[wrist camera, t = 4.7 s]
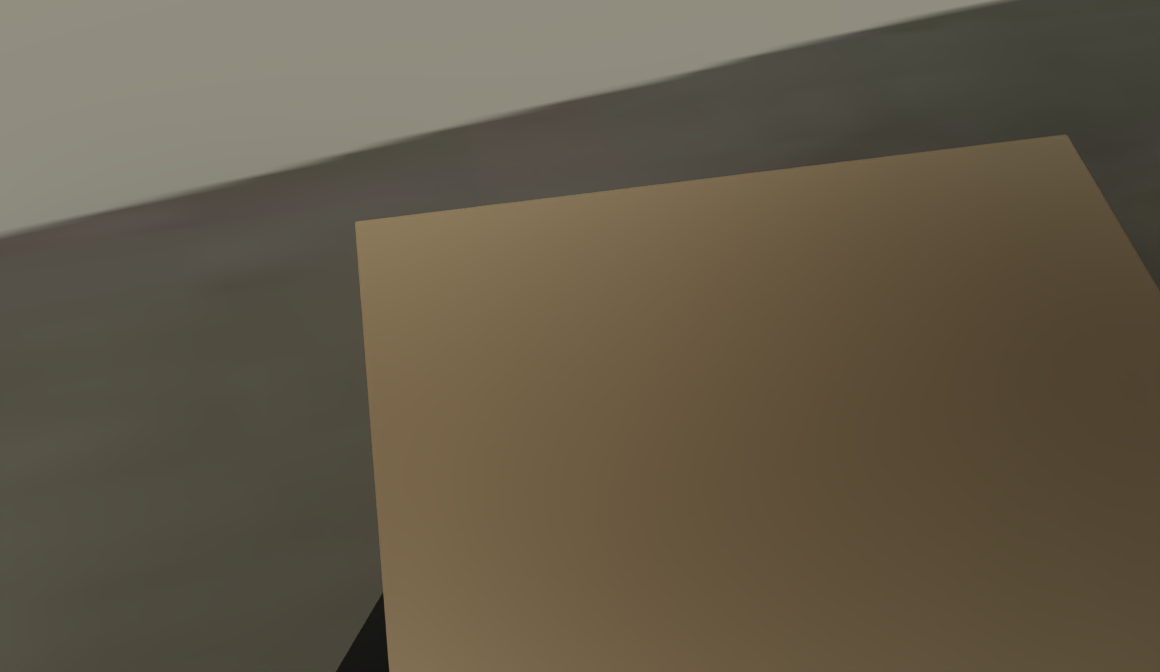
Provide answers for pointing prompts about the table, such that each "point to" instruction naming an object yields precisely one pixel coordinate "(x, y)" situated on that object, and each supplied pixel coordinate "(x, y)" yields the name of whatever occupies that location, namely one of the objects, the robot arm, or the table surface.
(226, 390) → the table surface
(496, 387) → the wooden block tower
